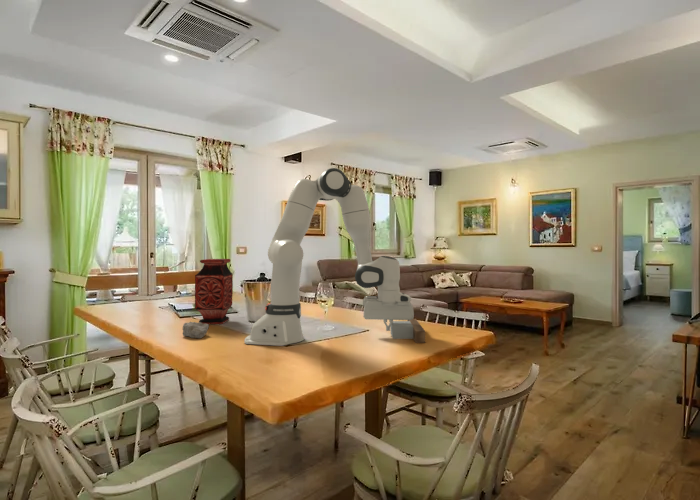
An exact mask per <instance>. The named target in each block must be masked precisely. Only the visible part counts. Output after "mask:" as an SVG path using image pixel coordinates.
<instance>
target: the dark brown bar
mask: <svg viewBox="0 0 700 500" xmlns="http://www.w3.org/2000/svg"><path fill="white" fill-rule="evenodd" d="M407 321H410V322H411V324H412V325H413V341H414V343H415V344H425V343H426V330H425V329H424V328H423V326H422V325H421V324H420V322H419V321H418V320H417V318H413V319H412V320H407Z"/></svg>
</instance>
